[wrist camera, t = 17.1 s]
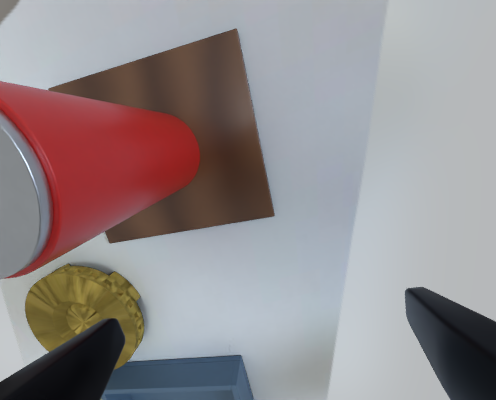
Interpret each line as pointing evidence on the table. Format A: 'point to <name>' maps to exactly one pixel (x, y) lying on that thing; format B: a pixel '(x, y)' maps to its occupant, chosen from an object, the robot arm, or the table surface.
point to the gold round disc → (83, 307)
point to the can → (80, 170)
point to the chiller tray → (180, 380)
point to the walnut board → (204, 129)
